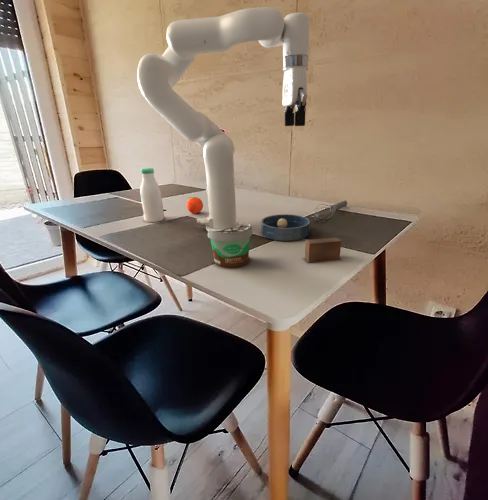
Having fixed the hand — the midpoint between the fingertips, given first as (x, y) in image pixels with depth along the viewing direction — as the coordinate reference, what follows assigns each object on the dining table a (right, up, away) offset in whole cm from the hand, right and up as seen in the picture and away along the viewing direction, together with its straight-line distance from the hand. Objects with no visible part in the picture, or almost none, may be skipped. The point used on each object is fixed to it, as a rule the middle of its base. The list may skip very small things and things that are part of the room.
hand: (294, 125), depth 100 cm
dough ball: (-3, -31, +9) cm, 32 cm away
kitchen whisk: (+19, -25, +28) cm, 42 cm away
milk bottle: (-53, -28, +25) cm, 65 cm away
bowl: (-2, -34, +6) cm, 35 cm away
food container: (-18, -44, -16) cm, 50 cm away
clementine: (-38, -24, +33) cm, 56 cm away
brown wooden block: (+6, -42, -14) cm, 45 cm away
